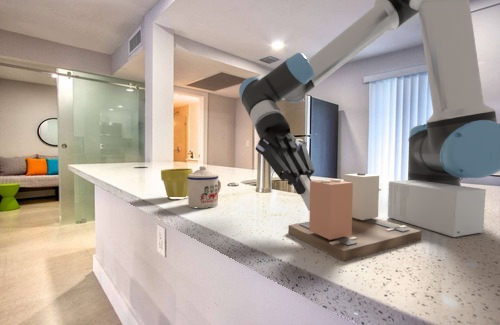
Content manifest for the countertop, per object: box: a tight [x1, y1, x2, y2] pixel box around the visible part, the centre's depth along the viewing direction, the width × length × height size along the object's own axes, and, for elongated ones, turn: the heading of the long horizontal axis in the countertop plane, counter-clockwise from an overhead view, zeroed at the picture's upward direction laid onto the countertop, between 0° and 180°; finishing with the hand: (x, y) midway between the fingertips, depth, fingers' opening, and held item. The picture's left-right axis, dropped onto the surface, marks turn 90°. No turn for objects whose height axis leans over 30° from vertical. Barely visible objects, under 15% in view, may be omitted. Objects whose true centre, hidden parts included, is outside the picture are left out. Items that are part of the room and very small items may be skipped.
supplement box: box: [387, 179, 487, 238], centre depth 55 cm, size 9×9×15 cm
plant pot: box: [160, 167, 194, 198], centre depth 85 cm, size 10×10×10 cm
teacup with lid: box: [187, 165, 222, 209], centre depth 75 cm, size 12×9×12 cm
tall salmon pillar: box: [308, 178, 353, 240], centre depth 43 cm, size 5×5×9 cm
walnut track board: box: [287, 217, 422, 262], centre depth 48 cm, size 20×14×2 cm
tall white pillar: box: [343, 172, 380, 220], centre depth 54 cm, size 5×5×9 cm
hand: (315, 206), depth 47 cm, fingers closed
